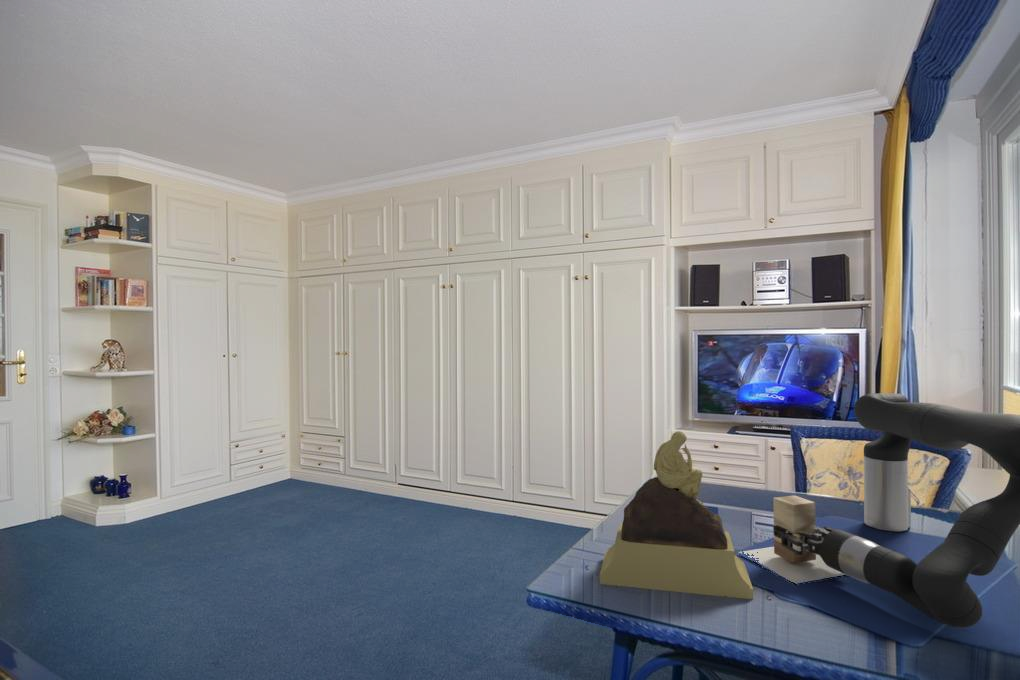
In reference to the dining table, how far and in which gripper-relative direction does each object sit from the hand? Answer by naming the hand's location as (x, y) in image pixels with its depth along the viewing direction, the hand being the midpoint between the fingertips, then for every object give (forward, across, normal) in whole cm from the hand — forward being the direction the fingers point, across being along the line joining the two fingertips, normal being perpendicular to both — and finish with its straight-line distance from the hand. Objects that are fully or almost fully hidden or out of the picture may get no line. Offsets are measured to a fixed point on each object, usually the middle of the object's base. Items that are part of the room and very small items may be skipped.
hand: (786, 528), depth 122 cm
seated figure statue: (+1, -28, -7) cm, 29 cm away
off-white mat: (-2, 0, -7) cm, 7 cm away
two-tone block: (-2, 0, +7) cm, 7 cm away
